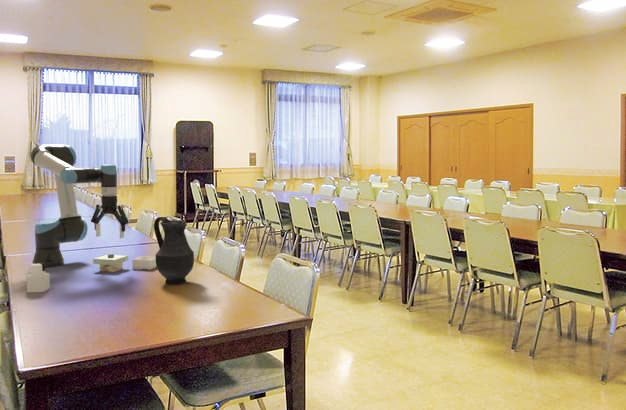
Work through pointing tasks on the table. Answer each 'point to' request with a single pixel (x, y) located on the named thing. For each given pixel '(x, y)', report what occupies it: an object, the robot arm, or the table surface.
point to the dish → (144, 262)
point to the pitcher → (173, 251)
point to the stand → (111, 267)
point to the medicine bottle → (37, 278)
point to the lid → (110, 259)
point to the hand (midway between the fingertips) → (110, 237)
